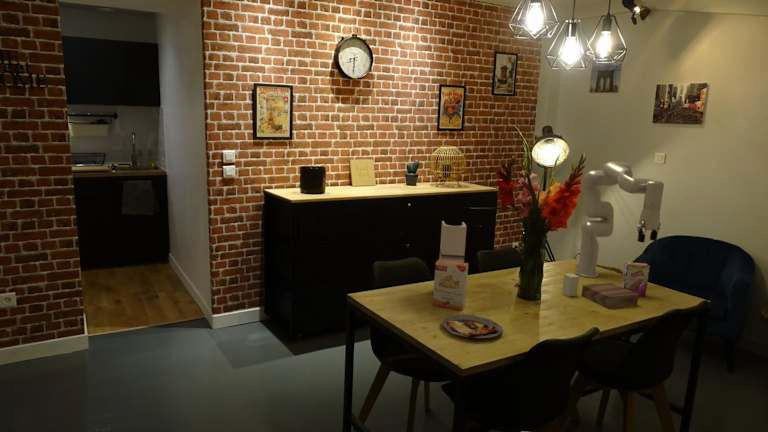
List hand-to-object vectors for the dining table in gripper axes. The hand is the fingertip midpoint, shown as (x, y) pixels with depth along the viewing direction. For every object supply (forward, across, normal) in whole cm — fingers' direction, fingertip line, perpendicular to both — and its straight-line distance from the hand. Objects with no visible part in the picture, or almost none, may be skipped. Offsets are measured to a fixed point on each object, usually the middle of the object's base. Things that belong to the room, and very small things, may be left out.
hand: (647, 241), depth 261 cm
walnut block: (+31, +15, -6) cm, 35 cm away
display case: (+30, +84, -45) cm, 100 cm away
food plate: (+31, +103, -5) cm, 107 cm away
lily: (+31, +39, -41) cm, 64 cm away
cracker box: (+30, +95, -31) cm, 104 cm away
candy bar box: (+30, -6, -7) cm, 32 cm away
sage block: (+30, +26, -20) cm, 45 cm away
